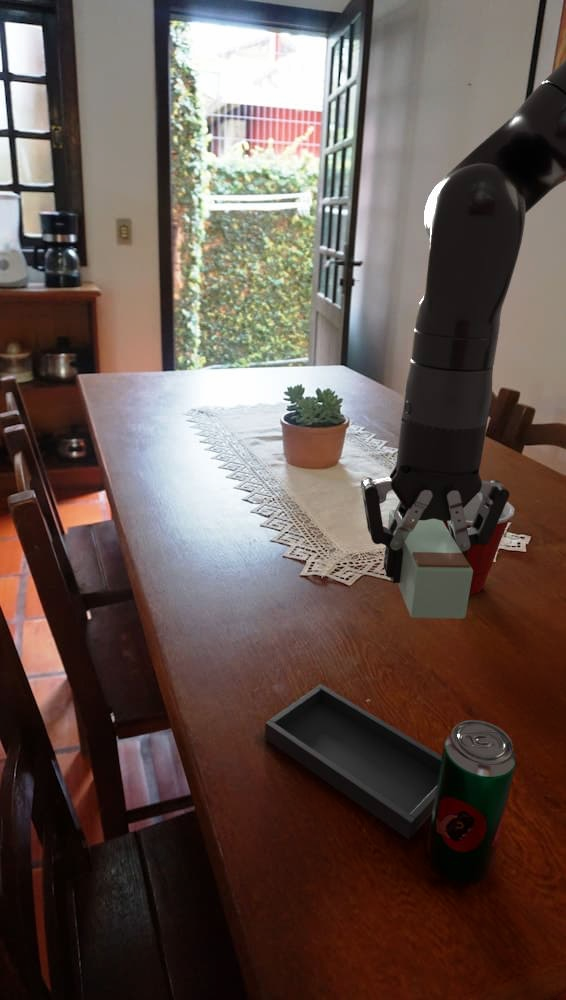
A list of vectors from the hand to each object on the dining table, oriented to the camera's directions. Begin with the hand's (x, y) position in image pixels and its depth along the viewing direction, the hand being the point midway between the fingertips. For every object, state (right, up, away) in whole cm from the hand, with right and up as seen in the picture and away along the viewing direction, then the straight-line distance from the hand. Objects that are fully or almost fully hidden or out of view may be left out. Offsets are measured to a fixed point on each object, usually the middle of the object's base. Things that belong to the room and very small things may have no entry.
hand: (421, 578), depth 68 cm
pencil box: (0, 0, 0) cm, 0 cm away
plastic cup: (+11, -4, +27) cm, 29 cm away
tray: (-7, -16, -5) cm, 18 cm away
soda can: (0, -21, -14) cm, 25 cm away
